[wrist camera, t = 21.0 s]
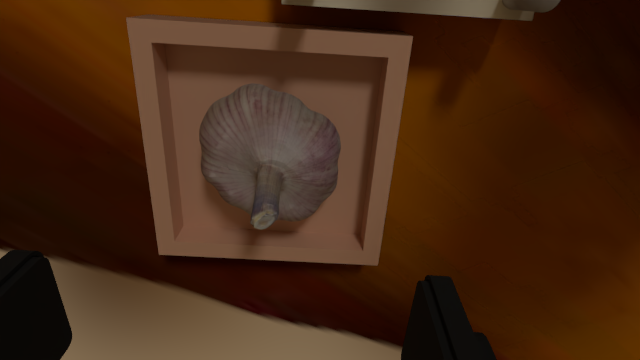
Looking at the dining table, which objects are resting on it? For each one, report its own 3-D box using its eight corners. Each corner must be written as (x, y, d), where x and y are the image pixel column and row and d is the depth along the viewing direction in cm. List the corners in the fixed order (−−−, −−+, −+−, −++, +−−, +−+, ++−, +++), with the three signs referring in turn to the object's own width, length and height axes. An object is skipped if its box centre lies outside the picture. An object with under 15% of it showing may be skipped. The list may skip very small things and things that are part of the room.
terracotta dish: (402, 31, 20) (413, 36, 18) (372, 241, 26) (377, 265, 24) (147, 14, 20) (126, 17, 18) (173, 231, 26) (158, 254, 23)
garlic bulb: (353, 187, 23) (368, 274, 16) (236, 213, 24) (200, 308, 17) (321, 58, 20) (323, 96, 13) (188, 94, 21) (119, 148, 14)
